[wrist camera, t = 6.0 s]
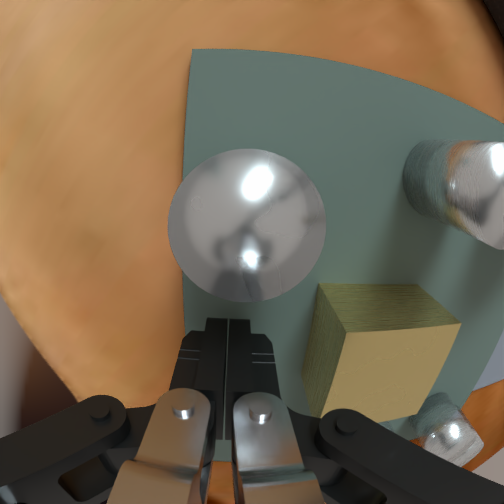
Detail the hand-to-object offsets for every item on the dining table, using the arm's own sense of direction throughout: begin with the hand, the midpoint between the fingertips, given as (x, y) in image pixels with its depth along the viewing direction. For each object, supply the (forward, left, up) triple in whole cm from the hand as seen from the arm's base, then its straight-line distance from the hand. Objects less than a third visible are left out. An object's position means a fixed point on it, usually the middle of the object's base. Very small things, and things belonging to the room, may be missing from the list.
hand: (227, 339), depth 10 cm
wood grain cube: (-5, 0, -1) cm, 5 cm away
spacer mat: (-7, 0, -1) cm, 7 cm away
